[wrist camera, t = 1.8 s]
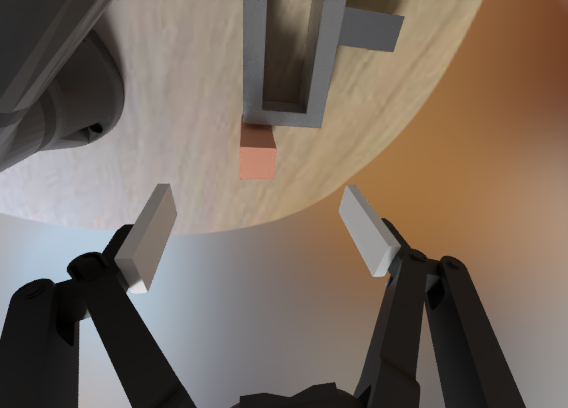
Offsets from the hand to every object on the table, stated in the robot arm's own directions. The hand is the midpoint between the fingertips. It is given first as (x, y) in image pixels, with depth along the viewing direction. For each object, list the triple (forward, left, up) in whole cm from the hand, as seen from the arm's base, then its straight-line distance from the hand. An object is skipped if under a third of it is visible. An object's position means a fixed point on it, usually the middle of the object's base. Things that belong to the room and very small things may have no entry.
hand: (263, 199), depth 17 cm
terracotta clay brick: (0, 0, -17) cm, 17 cm away
